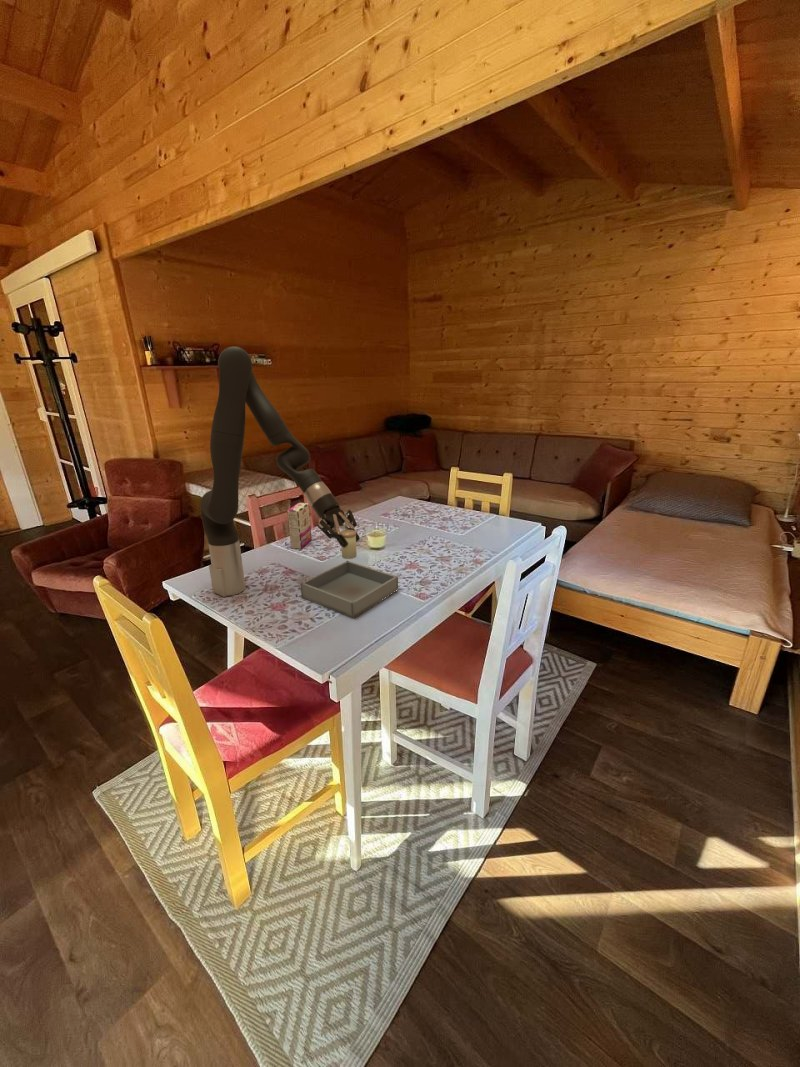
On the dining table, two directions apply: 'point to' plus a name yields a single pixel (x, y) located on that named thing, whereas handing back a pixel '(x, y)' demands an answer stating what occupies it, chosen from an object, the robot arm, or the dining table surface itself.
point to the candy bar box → (299, 525)
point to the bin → (349, 588)
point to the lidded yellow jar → (349, 544)
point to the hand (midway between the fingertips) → (351, 543)
